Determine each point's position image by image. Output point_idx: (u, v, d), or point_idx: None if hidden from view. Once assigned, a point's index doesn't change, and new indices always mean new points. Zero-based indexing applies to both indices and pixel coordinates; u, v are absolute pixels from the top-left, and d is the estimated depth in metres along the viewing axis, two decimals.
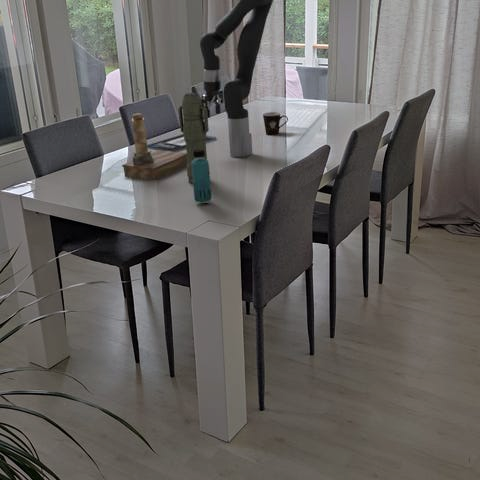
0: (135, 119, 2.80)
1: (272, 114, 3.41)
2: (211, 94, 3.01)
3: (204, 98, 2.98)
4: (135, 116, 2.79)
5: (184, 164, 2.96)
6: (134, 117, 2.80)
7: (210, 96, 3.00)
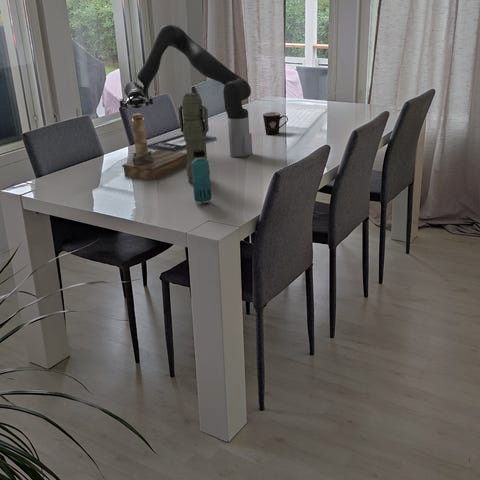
0: (135, 119, 2.80)
1: (272, 114, 3.41)
2: None
3: None
4: (135, 116, 2.79)
5: (184, 164, 2.96)
6: (134, 117, 2.80)
7: None
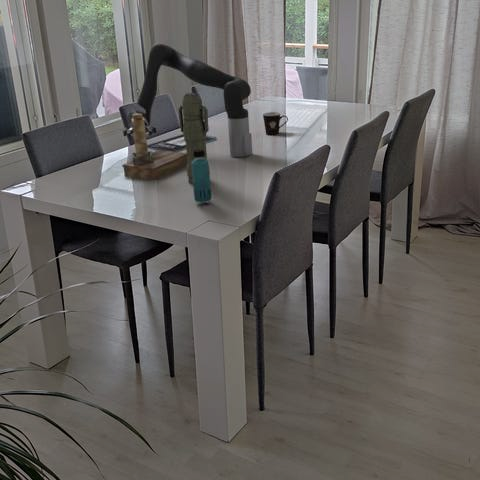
0: (135, 119, 2.80)
1: (272, 114, 3.41)
2: None
3: None
4: (135, 116, 2.79)
5: (184, 164, 2.96)
6: (134, 117, 2.80)
7: (132, 127, 2.97)
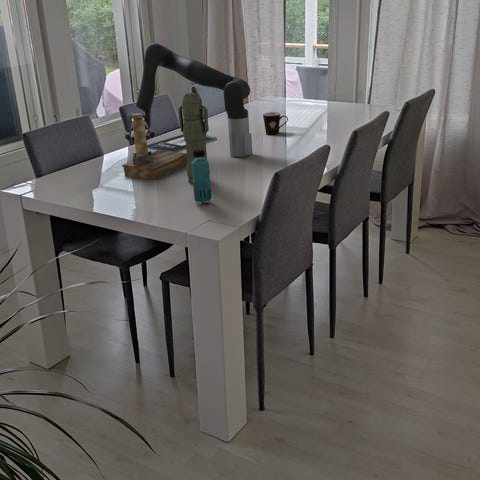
0: (135, 119, 2.80)
1: (272, 114, 3.41)
2: None
3: (124, 134, 2.89)
4: (135, 116, 2.79)
5: (184, 164, 2.96)
6: (134, 117, 2.80)
7: (132, 131, 2.90)
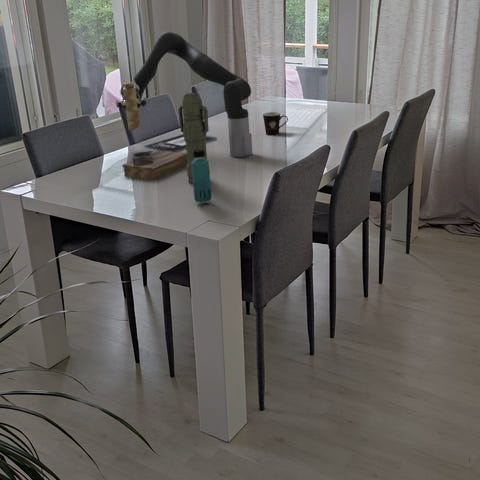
0: (126, 87, 2.92)
1: (272, 114, 3.41)
2: None
3: (116, 103, 3.01)
4: (126, 84, 2.91)
5: (184, 164, 2.96)
6: (126, 85, 2.92)
7: (124, 100, 3.02)
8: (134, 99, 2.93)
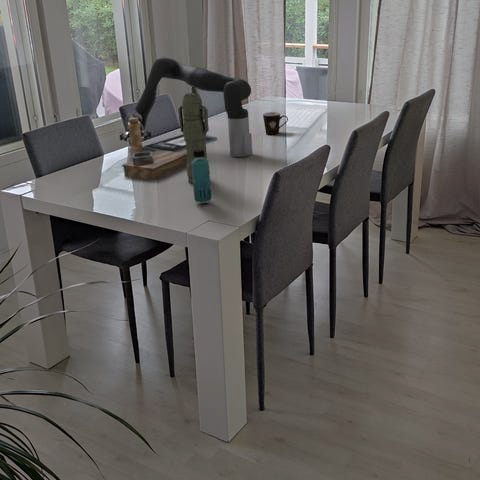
0: (131, 123, 2.97)
1: (272, 114, 3.41)
2: None
3: None
4: (131, 120, 2.97)
5: (184, 164, 2.96)
6: (130, 121, 2.97)
7: (128, 132, 3.08)
8: (138, 134, 2.99)
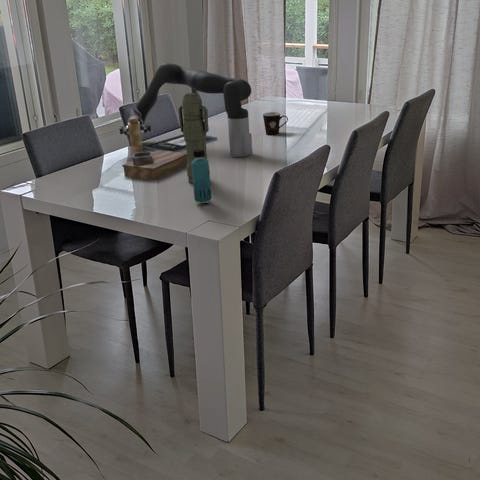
0: (131, 123, 2.97)
1: (272, 114, 3.41)
2: None
3: (120, 128, 3.15)
4: (131, 120, 2.97)
5: (184, 164, 2.96)
6: (130, 121, 2.97)
7: None
8: (138, 134, 2.99)
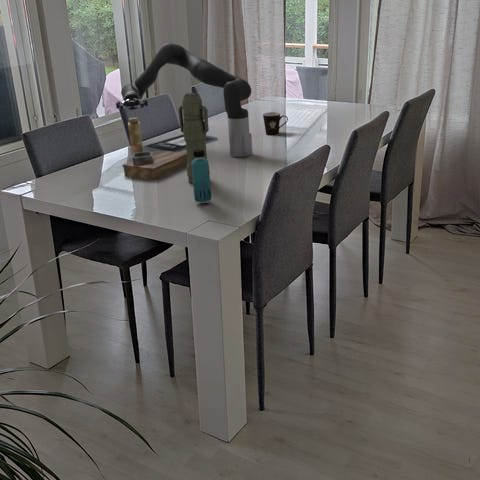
0: (131, 123, 2.97)
1: (272, 114, 3.41)
2: None
3: None
4: (131, 120, 2.97)
5: (184, 164, 2.96)
6: (130, 121, 2.97)
7: None
8: (138, 134, 2.99)
